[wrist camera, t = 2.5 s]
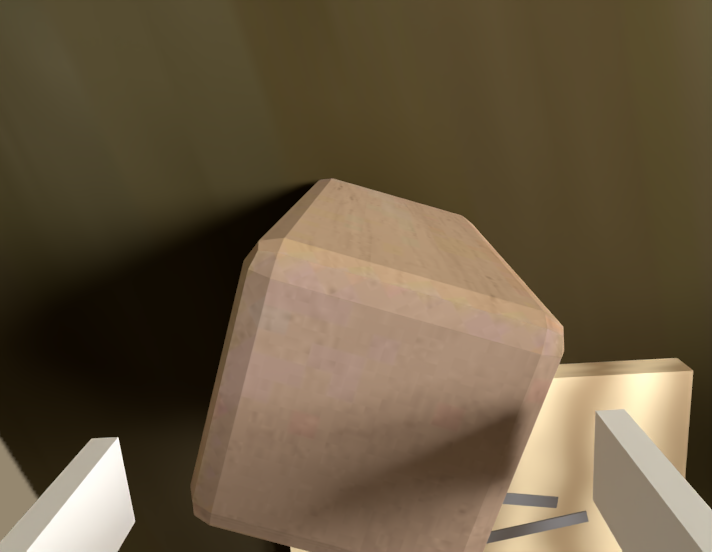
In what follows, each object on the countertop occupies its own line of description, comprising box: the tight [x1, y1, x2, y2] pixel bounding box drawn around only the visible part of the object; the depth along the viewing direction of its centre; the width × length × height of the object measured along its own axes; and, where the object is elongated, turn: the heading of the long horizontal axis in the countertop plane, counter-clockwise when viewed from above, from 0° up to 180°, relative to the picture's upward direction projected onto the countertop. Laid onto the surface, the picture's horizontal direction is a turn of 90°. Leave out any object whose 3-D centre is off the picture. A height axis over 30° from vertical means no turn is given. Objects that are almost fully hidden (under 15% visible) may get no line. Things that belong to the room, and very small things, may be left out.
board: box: [290, 358, 693, 552], centre depth 39 cm, size 26×16×2 cm, turn 94°
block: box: [190, 178, 564, 552], centre depth 27 cm, size 10×10×20 cm
